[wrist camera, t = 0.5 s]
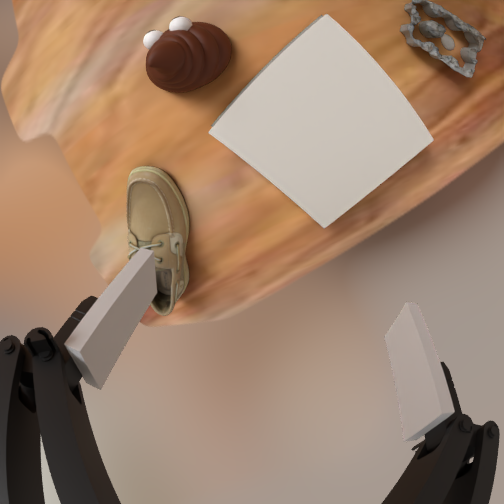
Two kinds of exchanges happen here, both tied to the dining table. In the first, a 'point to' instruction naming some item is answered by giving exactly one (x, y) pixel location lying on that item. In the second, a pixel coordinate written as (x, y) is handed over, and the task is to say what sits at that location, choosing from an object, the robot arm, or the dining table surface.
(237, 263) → the dining table surface
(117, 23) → the dining table surface
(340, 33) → the podium
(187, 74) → the poop emoji
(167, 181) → the boat shoe
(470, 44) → the stone castle ruin
